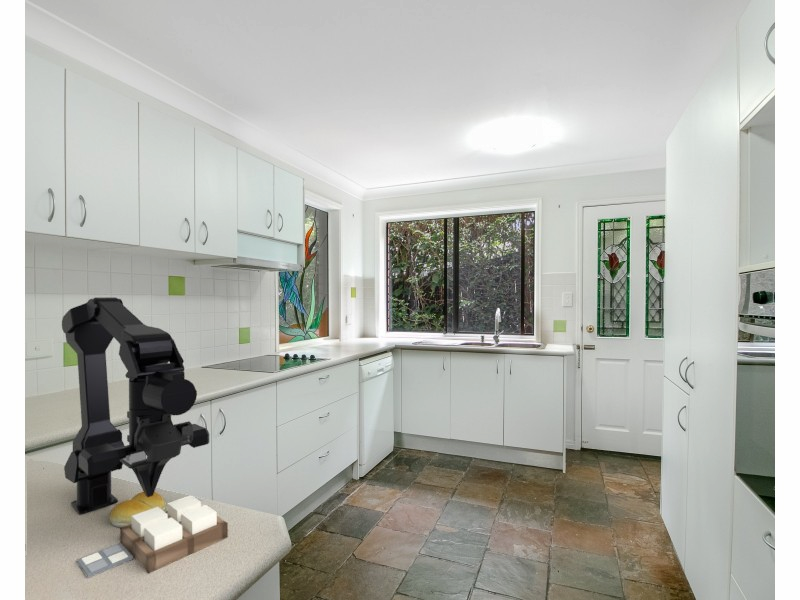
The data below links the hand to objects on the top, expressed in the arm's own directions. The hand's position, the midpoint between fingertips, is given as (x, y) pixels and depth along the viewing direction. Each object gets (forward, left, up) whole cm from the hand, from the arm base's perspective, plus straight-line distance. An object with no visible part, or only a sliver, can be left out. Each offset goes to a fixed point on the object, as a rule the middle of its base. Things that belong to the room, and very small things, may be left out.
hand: (149, 496), depth 74 cm
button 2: (+6, 0, -6) cm, 9 cm away
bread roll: (-11, +2, -8) cm, 14 cm away
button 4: (+6, +6, -6) cm, 10 cm away
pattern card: (+1, -7, -8) cm, 10 cm away
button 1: (0, 0, -6) cm, 6 cm away
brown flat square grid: (+3, +3, -8) cm, 9 cm away
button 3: (0, +6, -6) cm, 8 cm away
